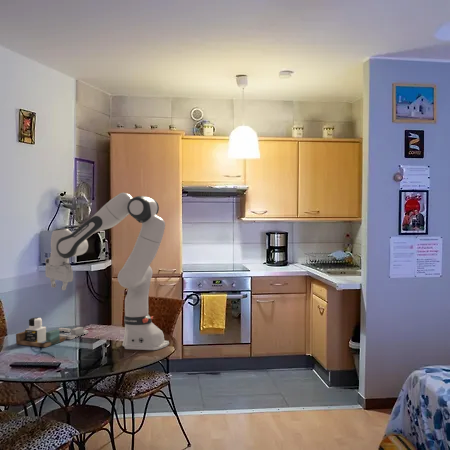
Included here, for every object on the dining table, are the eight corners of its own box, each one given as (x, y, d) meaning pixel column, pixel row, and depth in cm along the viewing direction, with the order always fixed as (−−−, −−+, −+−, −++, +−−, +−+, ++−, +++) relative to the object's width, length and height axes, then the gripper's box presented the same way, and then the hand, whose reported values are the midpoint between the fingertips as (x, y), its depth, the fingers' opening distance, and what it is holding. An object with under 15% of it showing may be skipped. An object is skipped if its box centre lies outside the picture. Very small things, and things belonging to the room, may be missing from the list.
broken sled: (88, 333, 252) (88, 325, 252) (70, 339, 239) (70, 331, 239) (60, 330, 259) (60, 323, 259) (42, 336, 247) (41, 328, 247)
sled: (65, 340, 238) (64, 328, 238) (45, 347, 225) (44, 334, 225) (37, 337, 245) (36, 325, 245) (16, 344, 233) (15, 331, 233)
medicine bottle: (25, 343, 234) (24, 319, 234) (34, 339, 241) (34, 316, 241) (37, 344, 232) (36, 320, 232) (46, 340, 239) (46, 317, 239)
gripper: (76, 262, 230) (75, 291, 230) (54, 258, 243) (54, 285, 244) (65, 263, 225) (64, 292, 225) (43, 259, 238) (42, 286, 239)
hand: (58, 288), depth 235 cm, fingers open, 8 cm apart
